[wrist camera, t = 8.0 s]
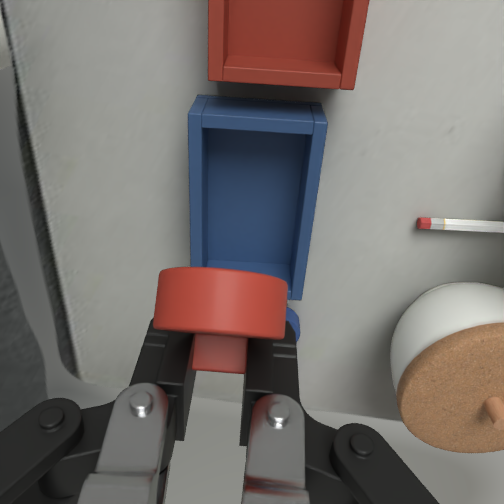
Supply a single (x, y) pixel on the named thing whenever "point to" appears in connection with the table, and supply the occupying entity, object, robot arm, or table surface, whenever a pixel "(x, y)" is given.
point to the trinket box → (452, 367)
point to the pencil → (460, 225)
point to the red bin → (286, 42)
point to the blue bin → (254, 184)
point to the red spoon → (221, 312)
